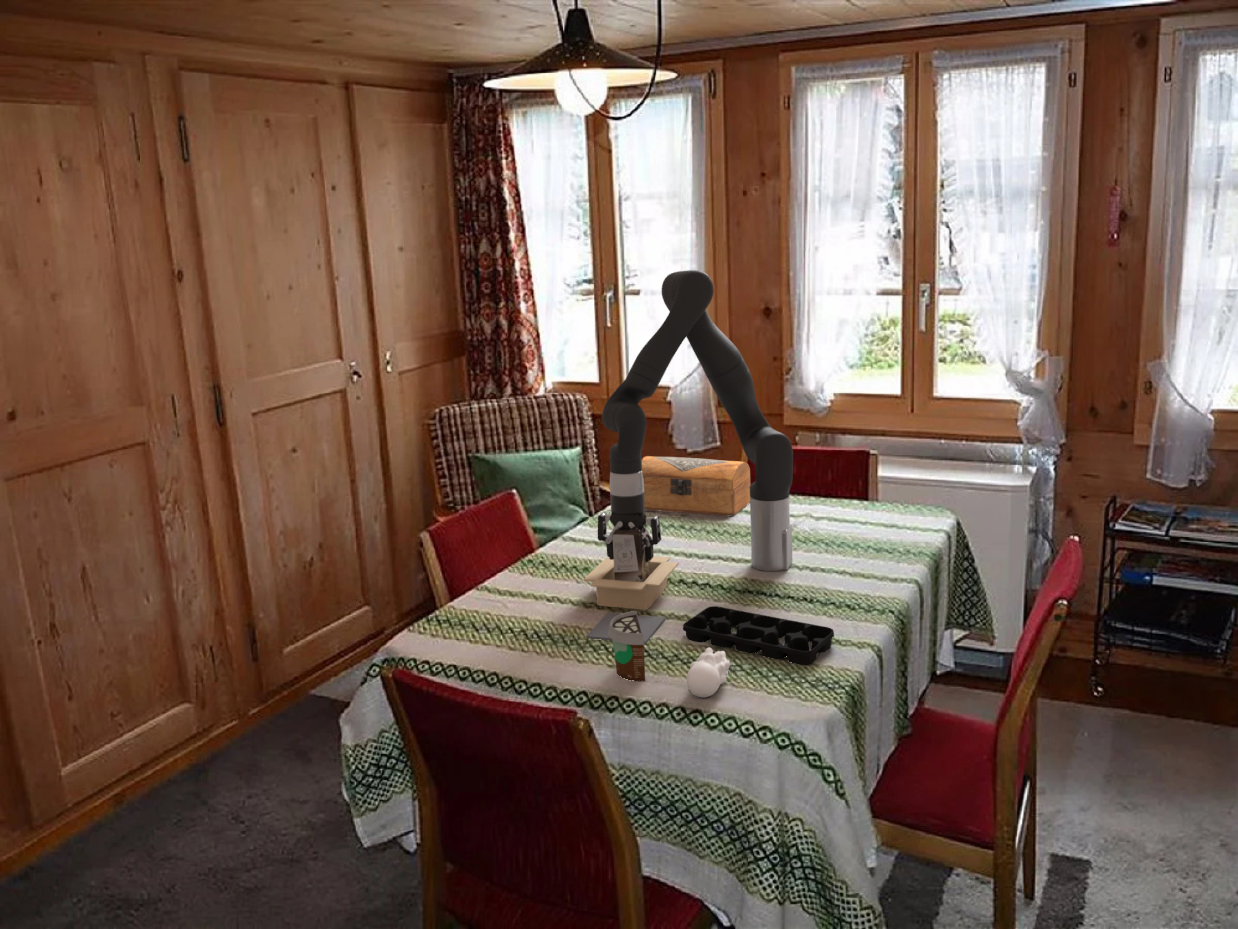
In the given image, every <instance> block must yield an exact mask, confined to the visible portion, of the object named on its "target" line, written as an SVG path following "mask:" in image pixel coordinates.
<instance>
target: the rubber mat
mask: <svg viewBox="0 0 1238 929" xmlns="http://www.w3.org/2000/svg"><path fill="white" fill-rule="evenodd" d="M620 614H622V613H619V612H609V611H608V612H607V613H606V614H605V615H604V616H603V617H602V618H601V619H600V621H599V622H598V623H597V624H596V625H595V626H594V627H593V628H592V629H591V630H590V631H589V632H588V633H587V634H586V636H585V639H586V638H591V639H590V640H596V639H601V640H600V641H606V640H610V641H609V642H613V641H612V639H611V638H610V637H609V635H608V630H609V625H610V623H611V620H612V619H613V618H614V617H616V616H618V615H620ZM637 618H638V622H639V625H640V629H641V633H643V637H644V645H647V643H648V642H650V641H651V639H652V638H653V637H654V635H655V633H656V632H657V631H658V630H659V629H660V628H661V626H662V625H663V624H664V623H665V621H666V617H665V616H655V615H654V616H652V615H644V614H643V615H641V614H637ZM650 638H651V639H650Z"/></svg>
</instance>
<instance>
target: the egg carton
mask: <svg viewBox="0 0 1238 929" xmlns="http://www.w3.org/2000/svg"><path fill="white" fill-rule="evenodd" d="M733 627H735V628H736V630H735V632H732V630H733V629H732V628H733ZM682 630H683V631H684V632H685V637H686V639H687V640H688V641H690V642H694V643H701V644H702V643H707V642H710V645H711V646H712V647H718V648H723V649H731V648H733V647H734V650H735V651H737V652H740V651H741V653H745V654H757V653H759V652H760V654H761V657H763V656H765V657H764V658H768V657H769V658H768V659H771V658H773V659H772V660H777V659H780V660H783V659H786V658H787V661H789V662H788V663H790V662H792V663H791V664H794V663H795V664H794V665H798V664H799V666H811V665H813V664H814V663H815V662H816V660H817V658H818V654H824V653H826V652H827V651H830V649H832V640H833V638H834V637H835V631H834V629H833V628H832V627H829V626H823V625H818V624H812V623H807V622H802V621H796V620H792V619H791V620H790V619H786V618H782V617H775V616H770V615H764V614H760V613H753V612H749V611H744V610H738V609H735V608H734V609H733V608H728V607H725V606H724V607H722V606H719V605H718V606H716V605H715V606H714V605H713V606H708V607H706V608H704V609H703V610H701V611H700V612H699V613H697V614H696V615H695V616H692V617H691V618H689V620H687V621H685V622H684V623H683V625H682ZM782 638H784V640H783V643H781V642H780V639H782ZM810 643H811V645H810ZM760 650H761V651H760ZM786 656H787V657H786ZM813 662H814V663H813Z"/></svg>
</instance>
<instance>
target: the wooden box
mask: <svg viewBox="0 0 1238 929" xmlns="http://www.w3.org/2000/svg"><path fill="white" fill-rule="evenodd" d="M642 474H643V479H644V500H645V509H647V511H656V510H661V511H660V512H670V513H672V512H673V513H686V514H698V513H701V515H710V514H713V516H723V515H735V516H736V515H737V514H738V513H740V512H741V511H742V510H743V509H744V508H745V507H746V505H747V504H748V503H749V504H750V486H751V468H750V465H749V464H748V463H747V462H745V461H739V460H738V461H736V460H719V459H712V458H711V459H709V458H696V457H680V456H679V457H678V456H650V455H646V456H643V458H642ZM749 504H748V505H749ZM748 505H747V506H748ZM741 509H742V510H741ZM740 510H741V511H740ZM739 511H740V512H739Z"/></svg>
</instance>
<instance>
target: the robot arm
mask: <svg viewBox="0 0 1238 929" xmlns="http://www.w3.org/2000/svg"><path fill="white" fill-rule="evenodd" d="M662 282H663V283H662V285H661V297H662V300H663V303H664V305H665V306H666V308H667V310H668V311H669V313H668V314H667V316H666V318H665V320H664V321H663V322H662V324H661V325H660V326H659V328H658V329H657V331H656V332H655V333H654V334H653V335H652V336H651V338H650V339H649V340H648V341H646V343H645V344H644V346H643V347H642V348H641V349H640V351H639V353H637V356H636V358H635V360H634V362H633V363H632V366H631V368H630V369H629V371H628V374H627V375H626V377H625V379H624V380H623V381H622V382H621V383H620V385H618V387H617V388H616V389H615V390H614V391H613V393H612V394H611V395H610V397H609V398H608V399H607V401H606V402H605V404H604V407H603V409H602V413H601V419H602V424H603V425H604V427H605V428H606V429H607V430H609V431H611V432H615V433H618V439H617V443H615V444H613V445H612V446H611V447H610V449H609V468H610V473H609V494H610V497H609V498H610V511H611V513H610V514H607V513H606V512H602V513H601V514H599V515H598V516H597V540H598V542H599V541H600V542H604V543H605V544H606V555H607V558H609V559H610V560H613V559H614V556H613V535H612V534H613V533H614V531H615V530H624V529H630V530H633V531H636V530H637V531H640V530H641V529H642V528H644V533H642V539H643V543H644V544H645V545H646V546H645V562H650V561H651V559H652V558H653V556H655V555H654V554H655V553H654V546H655V545H658V544H659V543H660V542H661V541H662V534H661V532H662V531H661V523H660V522H661V521H660V516H658V515H654V516H647V515H646V510H645V500H644V479H643V474H642V459H643V458H642V449H643V446H644V441H645V437H646V430H647V417H646V413H645V411H644V409H643V407H642V406H641V405H639V403H640V402H641V401H642V400H644V399H649V398H651V397H652V396H653V395H654V394H655V392H656V390H657V389H658V387H659V385H660V383H661V381H662V379H663V376H664V375H665V373H666V371H667V368H668V367H669V366H670V364H671V362H672V360H673V358H674V356H675V355H676V353H677V351H678V350H679V348H680V346H681V345H682V344H683V342H684V340H685V339H687V341H688V343H689V345H690V347H691V349H692V351H693V353H694V355H695V357H696V358H697V360H698V362H699V364H700V366H701V368H702V370H703V371H704V374H705V376H706V378H707V381H708V382H709V384H710V386H711V387H712V389H713V391H714V393H715V394H716V396H717V398H718V400H719V402H720V403H721V406H722V407H723V409H725V412H726V413H727V415H728V417H729V419H730V420H731V423H732V425H733V426H734V428H735V431H736V434H737V437H738V439H739V442H740V443H741V447H742V449H743V452H744V454H745V456H746V457H747V459H748V460H749V461H750V462H751V463H753V464H754V465H755V481H754V482H752V483H750V503H749V506H750V507H749V508H750V509H749V510H750V513H749V515H750V546H751V548H750V549H751V551H750V552H751V553H750V554H751V566H752V567H753V568H754V569H756V570H759V571H764V572H765V571H766V572H767V571H768V572H777V571H783V570H784V571H788V570H789V569H790V567H791V564H793V526H792V524H791V523H790V519H791V518H790V517H791V516H790V489H791V487H792V484H793V476H794V475H793V473H794V471H793V469H794V468H793V467H794V451H793V446H792V442H791V440H790V438H789V437H788V436H787V435H785V434H784V433H782V432H780V431H779V430H778V431H777V430H776V429H774V428H773V427H772V426H771V425H770V423H769V422H768V420H767V419H766V417H765V416H764V414H763V412H762V410H761V409H760V407H759V404H758V401H757V398H756V390H755V385H754V380H753V377H752V373H751V371H750V369H749V367H748V365H747V363H746V361H745V359H744V357H743V355H742V353H741V352H740V350H739V349H738V348H737V346H736V345H735V344H734V343H733V342H732V341H731V340H730V338H729V337H728V336H727V335H726V334H725V333H723V331H721V329H719V327H717V325H716V324H715V322H714V321H713V320H712V318H711V317H710V315H709V313H708V312H707V308H708V307H709V305H710V304H711V302H712V300H713V297H714V289H715V288H714V287H715V286H714V283H713V280H712V279H711V277H710V275H709V274H707V273H706V272H704V271H701V270H693V269H691V270H690V269H689V270H680V271H674V272H672V273H670V274H667V276H666V277H665V278H664V280H663V281H662ZM609 522H610V523H611V524H612V526H613V529H612V530H611V532H610V533H609V534H607V524H608V523H609ZM645 524H646V525H647V524H648V526H649V528H651V535H650V533H649V531H648V529H647V527H646V528H645V526H644V525H645Z"/></svg>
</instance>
